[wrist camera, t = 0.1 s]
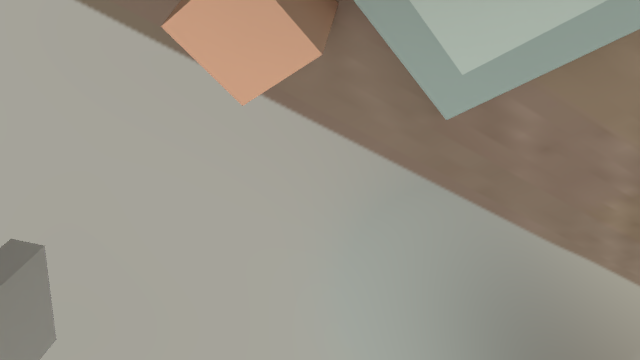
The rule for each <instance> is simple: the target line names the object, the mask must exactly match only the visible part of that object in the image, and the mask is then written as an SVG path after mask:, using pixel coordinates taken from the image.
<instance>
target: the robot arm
mask: <svg viewBox="0 0 640 360" xmlns="http://www.w3.org/2000/svg"><path fill="white" fill-rule="evenodd" d="M55 340H56V334H55V326H54V318H53V310H52V303H51V294H50V286H49V278H48V270H47V262H46V253H45V246H43V245H38V244H33V243H29V242H23V241H19V240H14V239H10V240H9V241H8V242H7V243H6V244H4V245H3V246H2V247H1V248H0V360H40V359H41V358H42V356H43V355H44V354H45V353H46V351H47V350H48V349H49V348H50V347H51V345H52V344H53V343H54V342H55Z"/></svg>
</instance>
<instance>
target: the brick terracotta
mask: <svg viewBox="0 0 640 360" xmlns="http://www.w3.org/2000/svg"><path fill="white" fill-rule="evenodd" d="M337 6H338V3H337V1H336V0H181V1H180V2H179V4H178V5H177V6H176V8H175V9H174V10H173V11H172V13H171V14H170V15H169V17H168V18H167V19H166V21H165V22H164V23H163V25H162V26H161V27H162V28H163V29H164V30H165V31H166V32H167V33H168V34H169V35H170V36H171V37H172V38H173V39H174V40H175V41H176V42H178V43H179V44H180V45H181V46H182V47H183V48H184V49H185V50H186V51H187V52H188V53H189V54H190V55H191V56H192V57H193V58H194V59H195V60H196V61H197V62H198V63H199V64H200V65H201V66H202V67H203V68H204V69H205V70H206V71H207V72H208V73H209V74H211V76H212V77H213V78H215V79H216V80H217V81H218V82H219V83H220V84H221V85H222V86H223V87H224V88H225V89H226V90H227V91H228V92H229V93H230V94H231V95H232V96H233V97H234V98H235V99H236V100H237V101H238V102H239V103H240V104H241V105H242V106H243V105H245V104H246V103H248V102H249V101H251V100H252V99H254V98H256V97H257V96H259V95H260V94H262V93H263V92H265V91H266V90H268V89H270V88H271V87H273V86H274V85H276V84H277V83H279V82H280V81H282V80H283V79H285V78H287V77H288V76H290V75H291V74H293V73H294V72H296V71H297V70H299V69H301V68H302V67H304V66H305V65H307V64H308V63H310V62H311V61H313V60H315V59H316V58H318V57H319V56H321V55H322V54H323V51H324V48H325V44H326V41H327V38H328V35H329V32H330V29H331V25H332V22H333V19H334V16H335V13H336V10H337Z"/></svg>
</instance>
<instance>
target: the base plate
mask: <svg viewBox="0 0 640 360" xmlns="http://www.w3.org/2000/svg"><path fill="white" fill-rule="evenodd" d="M354 1H355V3H356V4H357V5H358V7H359V8H360V9H361V10H362V12H363V13H364V14H365V16H366V17H367V18H368V20H369V21H370V22H371V23H372V25H373V26H374V27H375V29H376V30H377V31H378V32H379V34H380V35H381V36H382V38H383V39H384V40H385V41H386V43H387V44H388V45H389V47H390V48H391V49H392V51H393V52H394V53H395V54H396V56H397V57H398V58H399V60H400V61H401V62H402V63H403V65H404V66H405V67H406V69H407V70H408V71H409V72H410V74H411V75H412V76H413V78H414V79H415V80H416V82H417V83H418V84H419V85H420V87H421V88H422V89H423V91H424V92H425V93H426V94H427V96H428V97H429V98H430V100H431V101H432V102H433V103H434V105H435V106H436V107H437V109H438V110H439V111H440V112H441V114H442V115H443V116H444V118H445V119H446V120H448V119H450V118H452V117H454V116H456V115H458V114H460V113H462V112H465V111H467V110H469V109H471V108H473V107H475V106H477V105H479V104H482V103H484V102H486V101H488V100H490V99H492V98H494V97H496V96H498V95H501V94H503V93H505V92H507V91H509V90H511V89H513V88H515V87H518V86H520V85H522V84H524V83H526V82H528V81H530V80H532V79H534V78H537V77H539V76H541V75H543V74H545V73H547V72H549V71H551V70H554V69H556V68H558V67H560V66H562V65H564V64H566V63H568V62H571V61H573V60H575V59H577V58H579V57H581V56H583V55H585V54H587V53H590V52H592V51H594V50H596V49H598V48H600V47H602V46H604V45H607V44H609V43H611V42H613V41H615V40H617V39H619V38H621V37H623V36H626V35H628V34H630V33H632V32H634V31H636V30H638V29H640V0H354Z"/></svg>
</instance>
